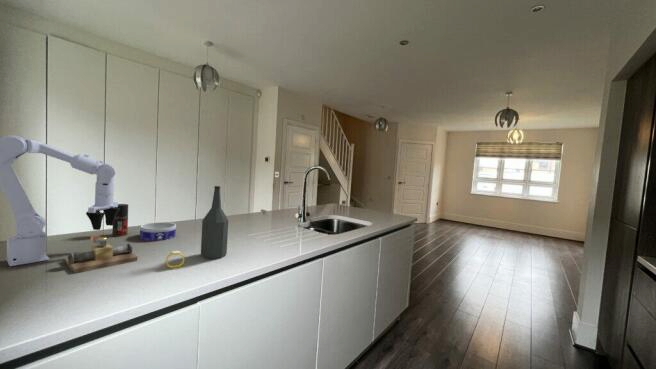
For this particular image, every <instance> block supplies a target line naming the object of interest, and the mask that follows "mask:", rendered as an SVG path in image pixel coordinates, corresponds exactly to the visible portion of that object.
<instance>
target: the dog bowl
mask: <svg viewBox="0 0 656 369" xmlns="http://www.w3.org/2000/svg"><path fill="white" fill-rule="evenodd" d="M139 228H140V229H139V238H140V240H142V241H146V242H147V241H148V242H159V241H160V242H161V240H162V241H166V240H167V239H168V240H172V239H173V238H175V237H176V232H177V224H176V223H174V222H169V221H156V222H154V221H153V222H146V223H143V224H141V225H140V226H139ZM171 238H172V239H171Z"/></svg>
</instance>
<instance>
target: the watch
mask: <svg viewBox="0 0 656 369" xmlns="http://www.w3.org/2000/svg"><path fill="white" fill-rule="evenodd" d="M172 255H173V256H175V255H180V256H182V261H181V263H180V264H177V265H171V264H169V262H168V259H169V258H170V257H171V256H172ZM184 263H185V256H184V254H183V252H181V251H180V250H172V251H171V253H169V254H168V255H167V256H166V258H165V265H166V266H167V267H168V268H170V269H174V268H180V267H181V266H183V264H184Z"/></svg>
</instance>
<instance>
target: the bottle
mask: <svg viewBox="0 0 656 369" xmlns="http://www.w3.org/2000/svg"><path fill="white" fill-rule="evenodd" d="M213 189H214V191H213V196H212V203H211V208H210V210H209V211H208V212H207V213H206V215H205V217H203V219H202V222H201V238H200V239H201V241H200V242H201V243H200V255H201V257H202V258H203V259H205V258H206V260H217V259H216V258H218V259H222V258H223V256H224V257H226V255H227V253H228V238H229V236H228V235H229V234H228V233H229V219H228V217H227V216H226V213H225V212H224V211H223V209H222V204H221V202H222V201H221V186H219V185H214V186H213ZM221 257H222V258H221Z"/></svg>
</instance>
